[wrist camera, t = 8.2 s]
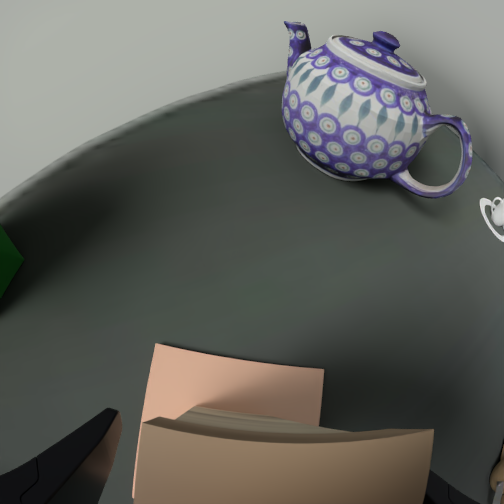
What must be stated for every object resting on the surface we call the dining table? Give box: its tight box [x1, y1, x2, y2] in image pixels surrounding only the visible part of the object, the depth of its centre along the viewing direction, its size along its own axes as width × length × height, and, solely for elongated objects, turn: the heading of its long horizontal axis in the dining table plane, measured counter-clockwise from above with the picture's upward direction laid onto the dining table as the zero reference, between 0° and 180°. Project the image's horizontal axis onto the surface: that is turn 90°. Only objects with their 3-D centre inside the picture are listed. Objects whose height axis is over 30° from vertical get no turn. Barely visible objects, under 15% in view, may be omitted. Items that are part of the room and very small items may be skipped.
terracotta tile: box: [132, 343, 324, 498], centre depth 15 cm, size 11×11×1 cm
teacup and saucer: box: [480, 197, 504, 242], centre depth 29 cm, size 9×8×4 cm
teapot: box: [282, 21, 472, 198], centre depth 23 cm, size 25×15×15 cm, turn 33°
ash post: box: [134, 406, 434, 504], centre depth 8 cm, size 5×5×14 cm
